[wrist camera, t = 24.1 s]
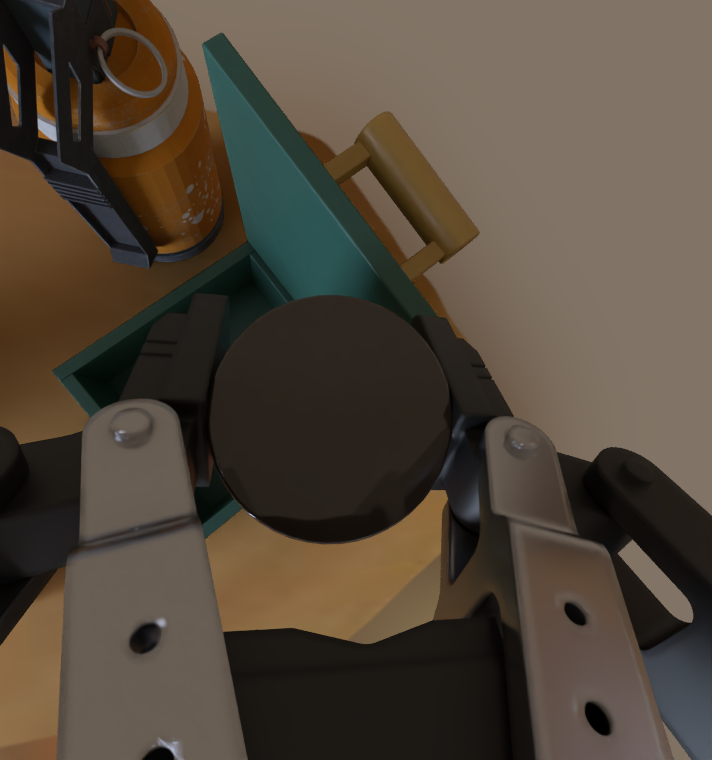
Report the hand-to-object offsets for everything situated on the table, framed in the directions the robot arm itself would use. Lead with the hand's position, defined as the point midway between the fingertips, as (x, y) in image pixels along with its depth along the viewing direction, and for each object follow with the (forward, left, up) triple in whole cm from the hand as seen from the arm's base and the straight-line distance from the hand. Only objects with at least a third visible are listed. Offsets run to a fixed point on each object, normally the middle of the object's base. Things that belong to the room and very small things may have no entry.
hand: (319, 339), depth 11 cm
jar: (-1, -1, -9) cm, 9 cm away
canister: (+1, +17, -25) cm, 30 cm away
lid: (+4, +3, -10) cm, 11 cm away
